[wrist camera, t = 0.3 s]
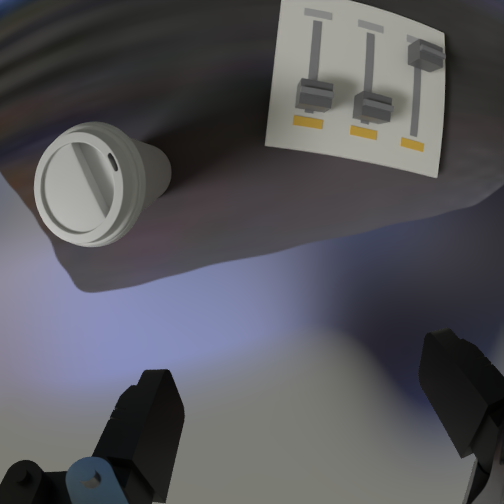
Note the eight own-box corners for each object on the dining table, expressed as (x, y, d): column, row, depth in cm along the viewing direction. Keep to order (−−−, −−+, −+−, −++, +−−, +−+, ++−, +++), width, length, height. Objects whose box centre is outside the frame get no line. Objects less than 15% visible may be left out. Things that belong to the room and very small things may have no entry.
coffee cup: (188, 211, 34) (143, 251, 20) (112, 217, 35) (37, 257, 20) (182, 126, 32) (130, 107, 17) (104, 138, 32) (22, 136, 18)
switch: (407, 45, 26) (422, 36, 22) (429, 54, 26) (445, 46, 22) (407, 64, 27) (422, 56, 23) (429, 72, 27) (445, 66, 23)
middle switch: (354, 95, 28) (366, 89, 25) (380, 102, 28) (394, 97, 25) (352, 118, 29) (363, 114, 25) (378, 124, 29) (392, 121, 25)
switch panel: (281, -5, 27) (283, -13, 25) (436, 37, 27) (444, 33, 25) (264, 146, 32) (265, 145, 30) (428, 176, 33) (437, 178, 31)
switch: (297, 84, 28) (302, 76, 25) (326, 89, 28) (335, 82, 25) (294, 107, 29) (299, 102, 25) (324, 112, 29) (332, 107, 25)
